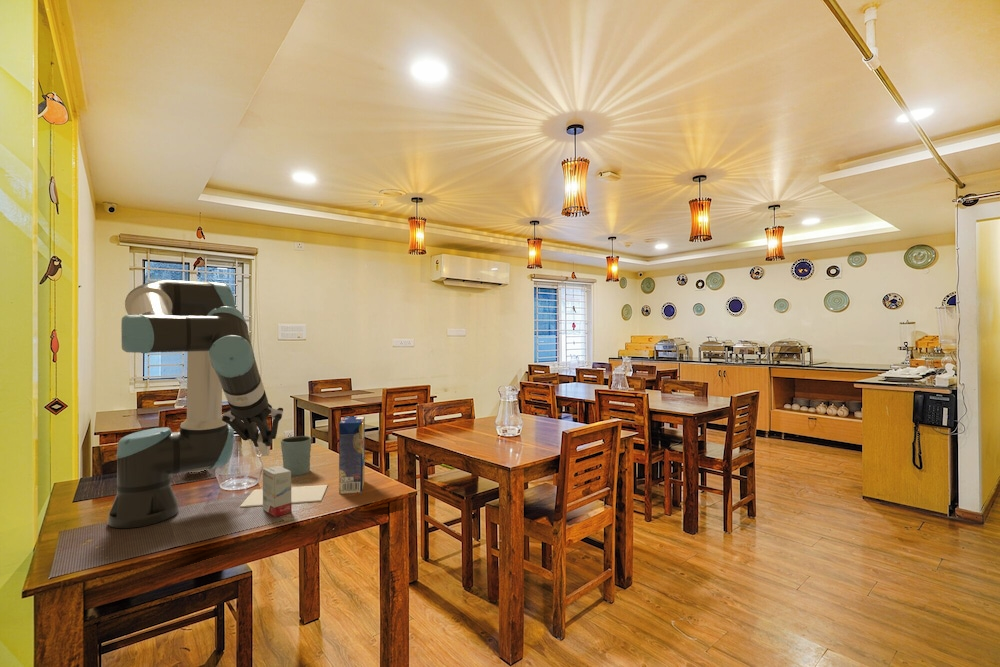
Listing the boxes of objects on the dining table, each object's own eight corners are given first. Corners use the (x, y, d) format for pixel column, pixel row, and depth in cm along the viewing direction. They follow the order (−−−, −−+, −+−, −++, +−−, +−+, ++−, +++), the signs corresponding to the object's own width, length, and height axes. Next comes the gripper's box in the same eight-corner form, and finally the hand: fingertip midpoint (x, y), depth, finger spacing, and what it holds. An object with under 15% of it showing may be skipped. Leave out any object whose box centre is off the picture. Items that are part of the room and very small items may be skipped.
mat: (239, 507, 134) (239, 506, 134) (254, 490, 147) (254, 489, 147) (321, 501, 139) (321, 500, 139) (327, 485, 152) (327, 484, 152)
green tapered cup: (304, 476, 162) (304, 442, 162) (275, 476, 162) (275, 442, 162) (316, 468, 172) (316, 435, 172) (288, 467, 172) (288, 435, 172)
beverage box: (364, 481, 157) (364, 416, 157) (361, 492, 146) (362, 422, 146) (343, 482, 156) (343, 416, 156) (339, 493, 145) (339, 423, 145)
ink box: (292, 512, 130) (292, 470, 130) (274, 517, 127) (274, 474, 126) (279, 504, 136) (279, 464, 136) (262, 509, 132) (262, 468, 132)
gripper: (208, 409, 99) (234, 466, 115) (274, 407, 102) (291, 462, 118) (217, 382, 104) (241, 439, 120) (280, 380, 107) (295, 437, 123)
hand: (266, 451), depth 119 cm, fingers closed
